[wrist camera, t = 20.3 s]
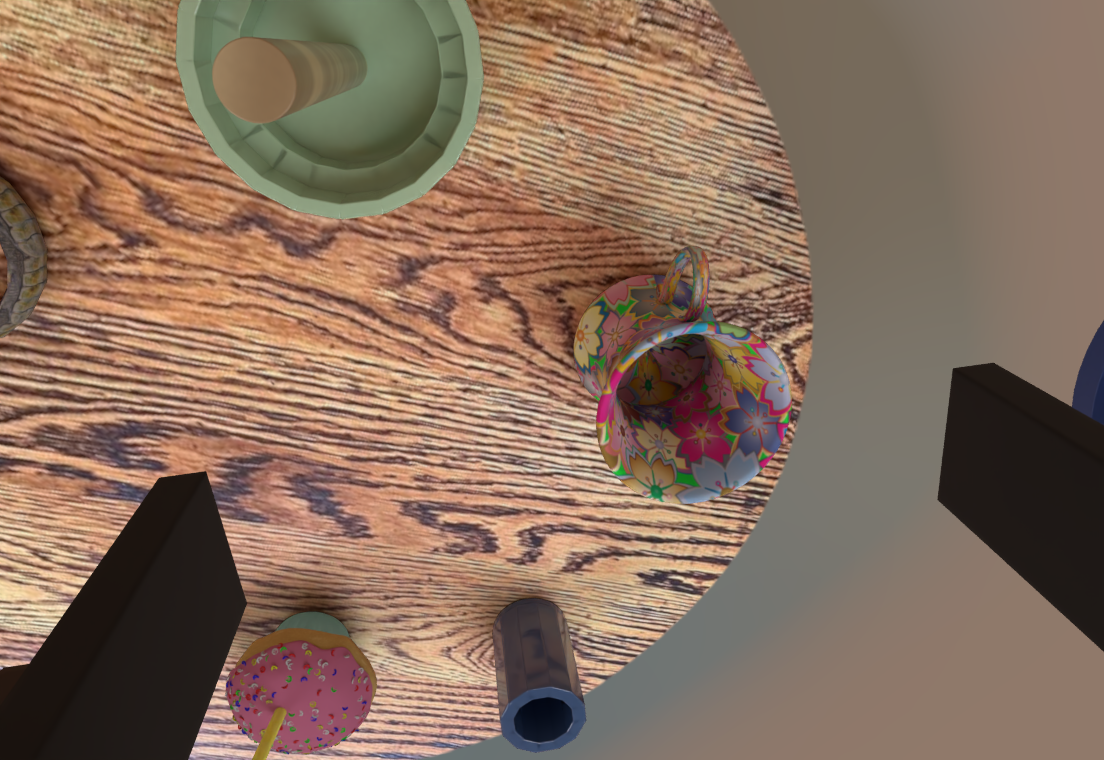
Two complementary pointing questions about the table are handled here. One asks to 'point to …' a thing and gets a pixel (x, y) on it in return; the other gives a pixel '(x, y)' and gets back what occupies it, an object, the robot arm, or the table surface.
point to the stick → (283, 75)
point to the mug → (679, 387)
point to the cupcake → (301, 686)
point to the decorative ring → (20, 259)
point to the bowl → (343, 100)
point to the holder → (536, 677)
